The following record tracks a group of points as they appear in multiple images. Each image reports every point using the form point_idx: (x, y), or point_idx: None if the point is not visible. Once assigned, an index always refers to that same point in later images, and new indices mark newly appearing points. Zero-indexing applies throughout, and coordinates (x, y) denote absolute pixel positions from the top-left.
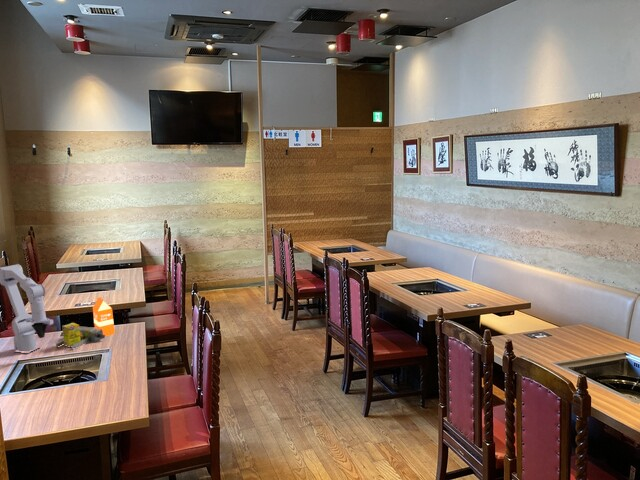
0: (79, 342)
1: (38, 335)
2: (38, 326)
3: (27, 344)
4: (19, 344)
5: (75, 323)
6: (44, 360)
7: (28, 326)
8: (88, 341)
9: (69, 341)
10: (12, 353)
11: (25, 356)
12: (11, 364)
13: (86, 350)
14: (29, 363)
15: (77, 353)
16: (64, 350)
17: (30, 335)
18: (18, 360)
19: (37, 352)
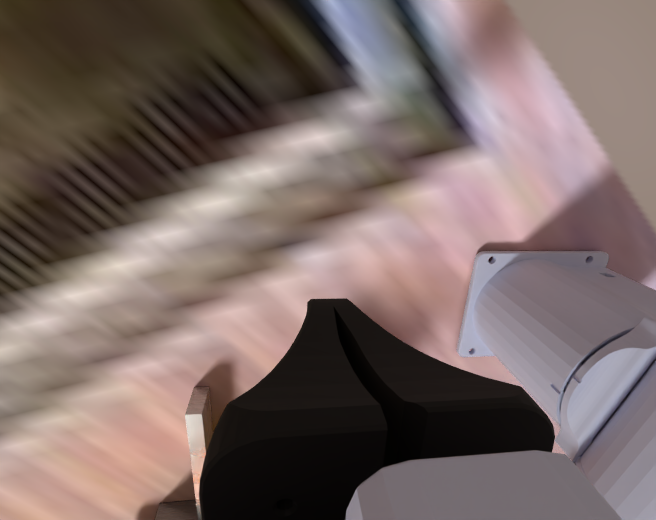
0: (191, 461)
1: (345, 309)
2: (253, 413)
3: (531, 301)
4: (601, 287)
5: None
6: (258, 188)
7: None
8: None
9: None
10: (599, 234)
11: (470, 215)
12: (478, 51)
13: (95, 406)
14: (337, 105)
15: (111, 353)
16: (259, 365)
17: (563, 374)
18: (474, 138)
19: (430, 292)
